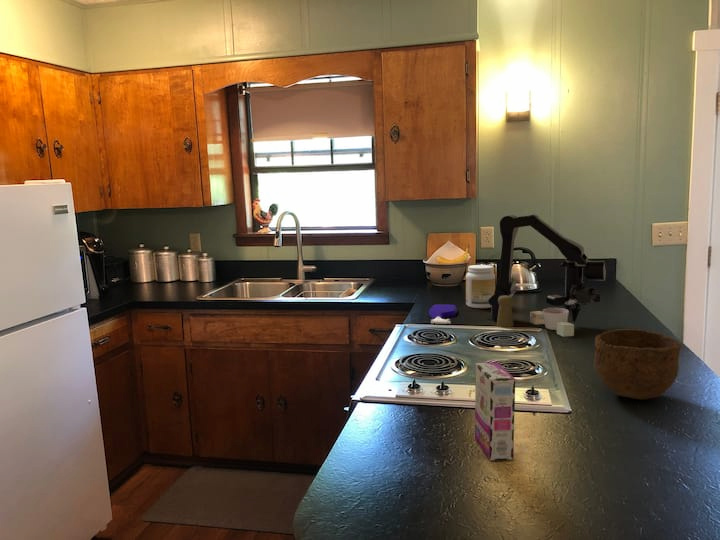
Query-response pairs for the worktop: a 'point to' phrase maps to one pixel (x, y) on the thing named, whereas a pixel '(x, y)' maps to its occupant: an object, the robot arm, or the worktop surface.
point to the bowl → (636, 362)
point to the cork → (505, 311)
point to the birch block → (537, 317)
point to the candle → (554, 317)
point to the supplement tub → (479, 286)
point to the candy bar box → (494, 411)
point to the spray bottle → (442, 313)
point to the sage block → (565, 329)
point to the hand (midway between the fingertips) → (573, 322)
